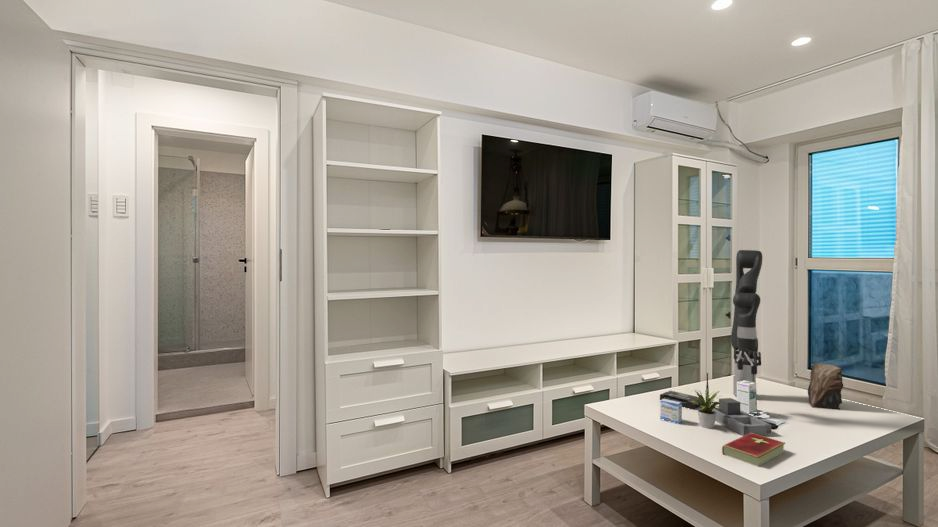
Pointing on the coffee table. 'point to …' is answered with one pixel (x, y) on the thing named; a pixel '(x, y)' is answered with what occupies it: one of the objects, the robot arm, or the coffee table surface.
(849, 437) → the coffee table surface
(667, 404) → the medicine box
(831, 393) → the brown rock
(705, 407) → the house plant
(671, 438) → the coffee table surface
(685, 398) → the black wifi router
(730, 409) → the grey desk organizer
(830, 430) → the coffee table surface
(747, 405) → the syrup box
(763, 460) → the hardcover book
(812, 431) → the coffee table surface
